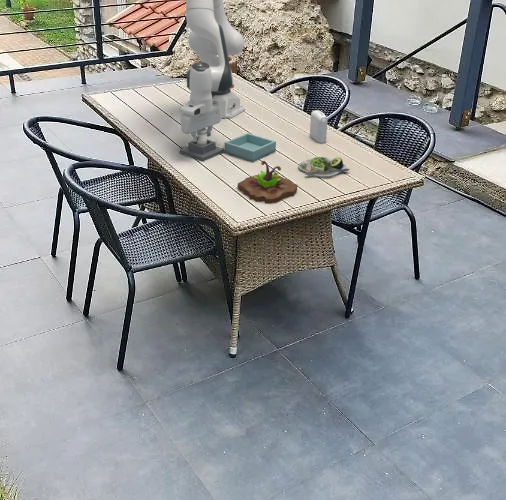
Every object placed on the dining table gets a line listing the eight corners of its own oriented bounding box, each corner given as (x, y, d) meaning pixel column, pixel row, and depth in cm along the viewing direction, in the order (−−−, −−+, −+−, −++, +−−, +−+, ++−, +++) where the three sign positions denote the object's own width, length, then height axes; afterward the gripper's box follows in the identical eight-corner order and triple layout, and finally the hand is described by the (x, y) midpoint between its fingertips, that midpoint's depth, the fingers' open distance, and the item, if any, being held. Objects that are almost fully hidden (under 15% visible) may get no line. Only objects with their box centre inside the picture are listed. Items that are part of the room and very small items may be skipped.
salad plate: (321, 185, 245) (322, 174, 242) (287, 170, 256) (287, 159, 253) (354, 172, 256) (355, 161, 254) (320, 158, 267) (321, 147, 265)
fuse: (201, 150, 271) (201, 127, 266) (208, 152, 269) (208, 129, 264) (195, 152, 268) (194, 129, 263) (202, 155, 266) (202, 131, 261)
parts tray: (247, 143, 279) (247, 132, 277) (275, 151, 272) (276, 141, 269) (224, 152, 269) (224, 142, 267) (253, 162, 261) (253, 151, 259)
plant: (268, 175, 251) (269, 148, 246) (305, 192, 239) (307, 163, 233) (228, 189, 240) (229, 160, 234) (265, 207, 227) (266, 178, 222)
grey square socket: (201, 144, 277) (200, 134, 274) (224, 152, 270) (224, 141, 268) (179, 153, 268) (179, 142, 266) (203, 161, 261) (203, 150, 259)
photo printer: (308, 135, 289) (310, 108, 283) (317, 134, 290) (319, 107, 284) (318, 143, 281) (320, 116, 274) (327, 142, 282) (329, 115, 276)
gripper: (212, 97, 268) (212, 130, 275) (177, 109, 254) (178, 143, 261) (224, 101, 264) (224, 133, 271) (189, 113, 250) (190, 147, 257)
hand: (201, 138), depth 266 cm, fingers open, 6 cm apart
